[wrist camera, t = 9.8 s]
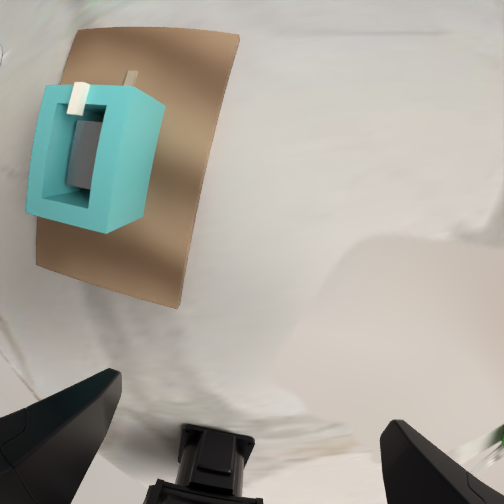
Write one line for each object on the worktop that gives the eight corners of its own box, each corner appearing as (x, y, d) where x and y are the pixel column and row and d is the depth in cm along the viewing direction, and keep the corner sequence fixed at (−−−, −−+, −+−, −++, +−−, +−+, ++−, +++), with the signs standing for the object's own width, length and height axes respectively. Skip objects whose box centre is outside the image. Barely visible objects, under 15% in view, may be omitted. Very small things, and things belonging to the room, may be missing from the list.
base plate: (179, 304, 21) (175, 311, 20) (42, 261, 20) (34, 266, 19) (240, 39, 16) (238, 32, 15) (83, 33, 16) (76, 28, 14)
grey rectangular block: (121, 185, 18) (94, 190, 14) (95, 180, 18) (66, 184, 14) (132, 129, 17) (107, 122, 13) (106, 126, 17) (77, 120, 13)
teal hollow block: (143, 217, 18) (100, 236, 13) (71, 201, 18) (18, 214, 13) (165, 105, 16) (129, 83, 11) (90, 99, 16) (39, 83, 11)
